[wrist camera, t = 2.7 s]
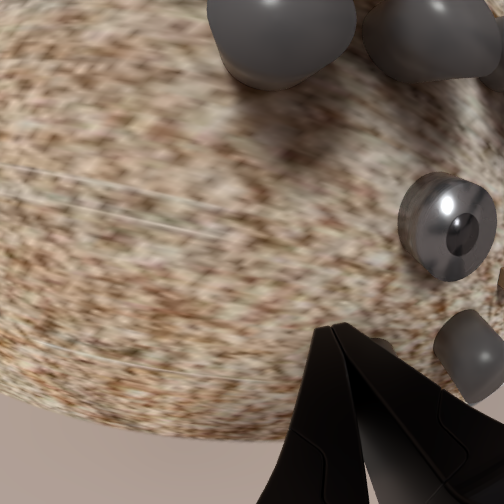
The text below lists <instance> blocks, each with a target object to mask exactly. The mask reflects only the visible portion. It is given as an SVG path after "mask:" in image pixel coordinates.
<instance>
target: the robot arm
mask: <svg viewBox="0 0 504 504" xmlns="http://www.w3.org/2000/svg"><path fill="white" fill-rule="evenodd" d="M364 462H365V465H366V468H367V471H368V474H369V476H370V479H371V482H372V485H373V488H374V490H375V494H376V497H377V499H378V502H379V504H504V424H502V423H501V422H499V421H497V420H494V419H493V418H491V417H489V416H487V415H485V414H483V413H481V412H480V411H478V410H476V409H474V408H472V407H471V406H469V405H468V404H466V403H464V402H463V401H461V400H460V399H458V398H457V397H455V396H454V395H452V394H451V393H449V392H448V391H446V390H445V389H442V390H441V387H440V386H439V385H437V384H436V383H434V382H433V381H431V380H430V379H429V378H427V377H426V376H424V375H423V374H421V373H420V372H418V371H417V370H415V369H414V368H413V367H411V366H410V365H408V364H407V363H405V362H404V361H402V360H401V359H399V358H398V357H397V356H395V355H394V354H392V353H391V352H389V351H388V350H386V349H385V348H383V347H382V346H381V345H379V344H378V343H376V342H375V341H373V340H372V339H370V338H369V337H368V336H366V335H365V334H363V333H362V332H360V331H359V330H357V329H356V328H354V327H353V326H352V325H350V324H349V323H347V322H343V323H338V324H333V325H332V326H331V327H330V326H324V327H318V328H315V329H314V332H313V337H312V341H311V345H310V349H309V354H308V358H307V362H306V366H305V370H304V374H303V378H302V382H301V385H300V389H299V393H298V397H297V400H296V404H295V408H294V411H293V415H292V418H291V422H290V425H289V430H288V431H287V435H286V438H285V441H284V444H283V447H282V450H281V453H280V456H279V458H278V461H277V464H276V466H275V468H274V470H273V472H272V475H271V477H270V479H269V481H268V483H267V485H266V487H265V489H264V490H263V492H262V494H261V496H260V498H259V500H258V501H257V503H256V504H369V495H368V488H367V479H366V473H365V465H364Z"/></svg>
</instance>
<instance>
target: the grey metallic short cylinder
mask: <svg viewBox="0 0 504 504" xmlns="http://www.w3.org/2000/svg"><path fill="white" fill-rule="evenodd" d="M496 226H497V215H496V209H495V205H494V202H493V200H492V198H491V196H490V195H489V193H488V192H487V191H486V190H485V189H484V188H482V187H481V186H479V185H477V184H474V183H472V182H469V181H467V180H464V179H462V178H459V177H456V176H454V175H451V174H448V173H445V172H432V173H429V174H426V175H424V176H422V177H421V178H419V179H418V180H417V181H416V182H415V183H414V184H413V185H412V186H411V187H410V188H409V189H408V191H407V193H406V194H405V196H404V198H403V200H402V203H401V205H400V209H399V213H398V233H399V237H400V240H401V242H402V244H403V246H404V248H405V249H406V250H407V251H408V252H409V253H410V254H411V255H412V256H413V257H414V258H415V259H416V260H417V261H418V262H419V263H420V264H421V265H422V266H423V267H424V268H425V269H426V270H427V271H428V272H429V273H430V274H432V275H433V276H434V277H435V278H437V279H439V280H442V281H447V282H451V281H457V280H460V279H463V278H465V277H466V276H468V275H470V274H471V273H472V272H473V271H475V270H476V269H477V268H478V267H479V266H480V265H481V263H482V262H483V261H484V259H485V258H486V256H487V255H488V253H489V251H490V249H491V246H492V244H493V241H494V237H495V233H496Z"/></svg>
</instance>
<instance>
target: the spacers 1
mask: <svg viewBox="0 0 504 504" xmlns="http://www.w3.org/2000/svg"><path fill="white" fill-rule="evenodd" d="M207 17H208V21H209V25H210V28H211V31H212V33H213V36H214V39H215V42H216V45H217V47H218V50H219V53H220V56H221V59H222V61H223V63H224V65H225V67H226V68H227V70H228V71H229V72H230V74H231V75H232V76H234V77H235V78H236V79H237V80H238V81H240V82H241V83H243V84H245V85H247V86H249V87H252V88H255V89H259V90H265V91H278V90H284V89H288V88H291V87H293V86H295V85H297V84H299V83H301V82H302V81H304V80H305V79H307V78H308V77H310V76H311V75H313V74H314V73H316V72H317V71H319V70H320V69H322V68H323V67H325V66H326V65H328V64H329V63H331V62H333V61H334V60H335V59H337V58H338V57H339V56H340V55H341V54H342V53H343V52H344V51H345V50H346V49H347V47H348V46H349V44H350V43H351V40H352V38H353V36H354V33H355V29H356V22H357V20H356V10H355V5H354V2H353V0H208V1H207ZM362 36H363V41H364V45H365V47H366V50H367V52H368V54H369V56H370V57H371V59H372V60H373V62H374V63H375V64H376V65H377V66H378V67H379V68H380V69H381V70H382V71H383V72H384V73H385V74H387V75H388V76H390V77H391V78H393V79H395V80H397V81H400V82H404V83H410V84H413V83H422V82H430V81H438V80H448V79H459V78H472V77H479V79H480V80H481V81H482V82H483V83H484V84H485V85H486V86H487V87H488V88H490V89H491V90H494V91H497V92H504V16H502V17H497V18H494V16H493V14H492V12H491V10H490V9H489V7H488V5H487V4H486V3H485V1H484V0H384V1H383V2H381V3H380V4H379V5H377V6H376V7H375V8H373V9H372V10H371V11H370V12H369V13H368V14H367V16H366V17H365V19H364V22H363V27H362Z"/></svg>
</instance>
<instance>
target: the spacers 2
mask: <svg viewBox="0 0 504 504" xmlns="http://www.w3.org/2000/svg"><path fill="white" fill-rule="evenodd" d="M370 339H372V340H373V341H375V342H376V343H378V344H379V345H381V346H382V347H383V348H385V349H386V350H388V351H389V352H391V353H392V354H394V355H395V356H397V354H396V352H395V351H394V349H393V347H392V345H391V344H390V343H389V342H388V341H386V340H384V339H380V338H370ZM434 353H435V354H436V356H437V357H438V359H439V360H440V362H441V363H442V365H443V366H444V368H445V369H446V371H447V372H448V374H449V376H450V377H451V379H452V380H453V382H454V383H455V385H456V387H457V388H458V390H459V391H460V393H461V395H462V396H463V398H464V399H465V401H466V402H467V403H476V402H479V401H481V400H483V399H485V398H486V397H488V396H489V395H491V394H492V393H493V392H494V391H496V390H497V389H498V388H499V387H500V386H501V385H502V384H503V383H504V341H503V340H502V338H501V337H500V336H499V335H498V334H497V333H496V332H495V331H494V330H493V328H492V327H491V326H490V325H489V324H488V323H487V322H486V321H485V320H484V319H483V318H482V317H481V316H480V315H479V313H478V312H476V311H475V310H470V309H469V310H464V311H462V312H460V313H458V314H456V315H455V316H453V317H452V318H451V319H450V320H448V321H447V322H446V323H445V325H444V326H443V327H442V328H441V330H440V331H439V333H438V335H437V337H436V339H435V342H434ZM397 357H398V356H397Z"/></svg>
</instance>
